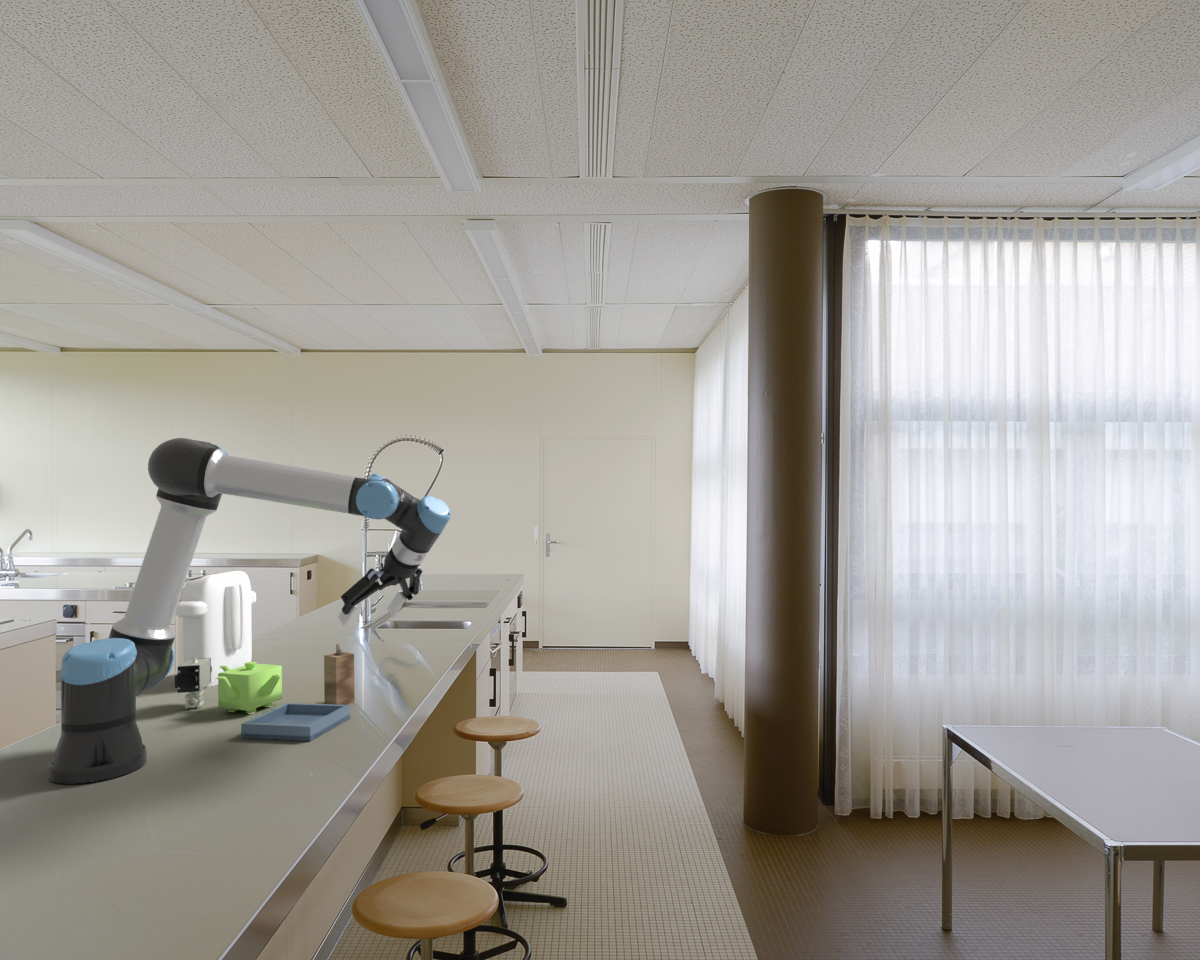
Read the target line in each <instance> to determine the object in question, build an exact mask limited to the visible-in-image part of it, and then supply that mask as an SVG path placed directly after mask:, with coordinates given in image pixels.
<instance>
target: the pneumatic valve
mask: <svg viewBox="0 0 1200 960" xmlns="http://www.w3.org/2000/svg"><path fill="white" fill-rule="evenodd" d="M211 672H212V667H211V658H199V659H197V657H194V658H193V659H190V660H188V661H187V662H185V663H183V662H181V663H179V664H178V666H177V674H176V673H175V675H174V689H177V693H178V694H181V693H183V694H184V693H187V694H185V696H184V698H185V706H184V708H185V710H188V709H195V708H196V709H201V707H202V706H204V705H205V702H206V701H204V700H205V696H204V695H205V690H203V689H205V688H204V687H205V686H207V685H208V684H209V683H211Z"/></svg>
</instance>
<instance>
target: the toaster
mask: <svg viewBox="0 0 1200 960" xmlns="http://www.w3.org/2000/svg"><path fill="white" fill-rule="evenodd" d="M249 577H250V576H248V574H247V573H246V572H245V571H243V570H231V571H226V572H219V573H218V572H217V573H212V574H207V575H204V576H202V577H200V578H196V579H194V580H187V581H186V582H185V584H184V587H183V592H182V593H183V594H182V601H180V602H178V604H177V607H176V610H175V615H176V617H178V618H181V619H182V663H185V662H187V661H188V660H190V659H193V658H194V657H197V659H199V658H211V667H212V672H211V683H209V684H208V685H207V686H205V687H204V688H203V689H207V688H206V687H209V688H212V687H211V686H213V687H216V686H218V685H217V684H218V679H216V677H218V673H220V672H224V671H223V669H222V668H221V667H219V666H228V667H229V668H230V669H234V668H238V667H241V666H245V663H247V662H252V659H253V657H252V655H253V653H252V652H253V649H252V648H253V645H252V644H253V643H252V642H253V641H252V640H253V639H252V637H253V635H252V630H253V629H252V622H253V621H252V619H253V618H252V617H253V616H252V605H254V604H255V603H256V602H257V593H256V592H255V591H254V590H252V585H251V580H250V578H249ZM215 685H216V686H215Z"/></svg>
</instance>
